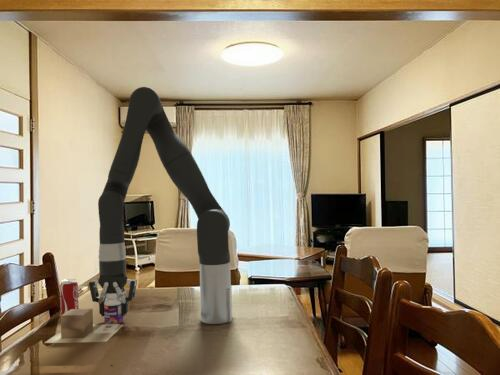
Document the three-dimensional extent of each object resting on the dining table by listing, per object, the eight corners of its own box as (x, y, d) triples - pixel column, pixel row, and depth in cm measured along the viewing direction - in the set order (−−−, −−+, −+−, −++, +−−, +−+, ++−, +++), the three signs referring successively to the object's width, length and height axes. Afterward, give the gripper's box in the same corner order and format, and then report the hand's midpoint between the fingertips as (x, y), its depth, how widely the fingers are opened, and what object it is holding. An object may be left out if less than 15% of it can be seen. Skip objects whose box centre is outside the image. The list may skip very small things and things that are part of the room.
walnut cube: (93, 330, 114) (92, 308, 114) (83, 338, 108) (83, 315, 108) (71, 330, 114) (71, 309, 114) (61, 338, 108) (60, 315, 108)
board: (124, 328, 119) (124, 324, 119) (106, 346, 105) (106, 341, 105) (69, 329, 119) (69, 325, 119) (44, 347, 105) (43, 342, 105)
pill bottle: (100, 327, 120) (99, 294, 120) (111, 322, 125) (110, 289, 125) (117, 328, 119) (116, 294, 119) (127, 322, 124) (126, 290, 124)
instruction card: (120, 324, 118) (120, 323, 118) (111, 333, 111) (111, 331, 111) (102, 325, 119) (102, 324, 119) (92, 333, 112) (93, 332, 112)
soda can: (72, 321, 127) (71, 282, 127) (57, 320, 128) (56, 282, 129) (82, 316, 132) (81, 278, 133) (67, 315, 133) (66, 278, 134)
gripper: (140, 255, 126) (141, 311, 126) (93, 256, 126) (94, 312, 126) (132, 259, 118) (134, 318, 118) (83, 260, 119) (84, 319, 118)
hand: (113, 315), depth 122 cm, fingers closed on pill bottle, 5 cm apart
